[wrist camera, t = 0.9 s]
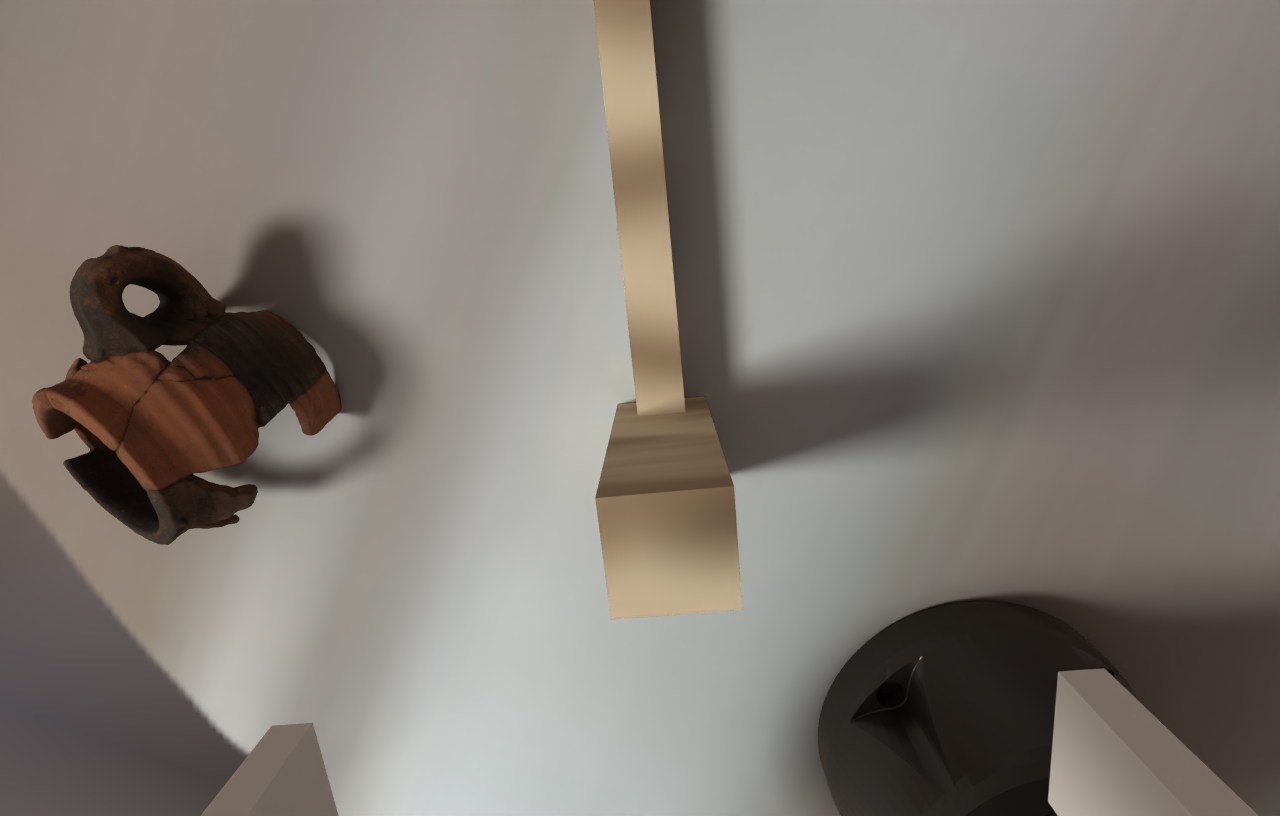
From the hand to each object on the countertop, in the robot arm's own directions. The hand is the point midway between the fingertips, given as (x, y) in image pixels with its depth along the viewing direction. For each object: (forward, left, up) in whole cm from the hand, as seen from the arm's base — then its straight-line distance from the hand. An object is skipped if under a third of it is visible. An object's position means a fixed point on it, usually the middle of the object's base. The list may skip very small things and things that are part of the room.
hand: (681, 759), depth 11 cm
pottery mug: (+5, +20, -19) cm, 28 cm away
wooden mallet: (+9, 0, -19) cm, 21 cm away
